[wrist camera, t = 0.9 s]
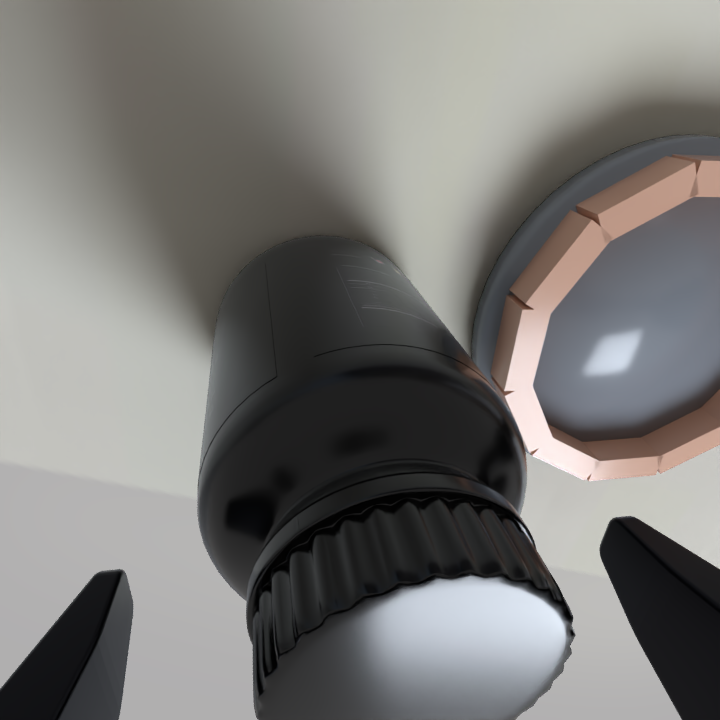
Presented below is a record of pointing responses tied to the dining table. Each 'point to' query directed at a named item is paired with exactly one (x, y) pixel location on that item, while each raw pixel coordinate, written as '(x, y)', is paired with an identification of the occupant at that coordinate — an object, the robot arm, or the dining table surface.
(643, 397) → the bottle holder
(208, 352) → the dining table surface
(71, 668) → the robot arm
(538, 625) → the supplement bottle
